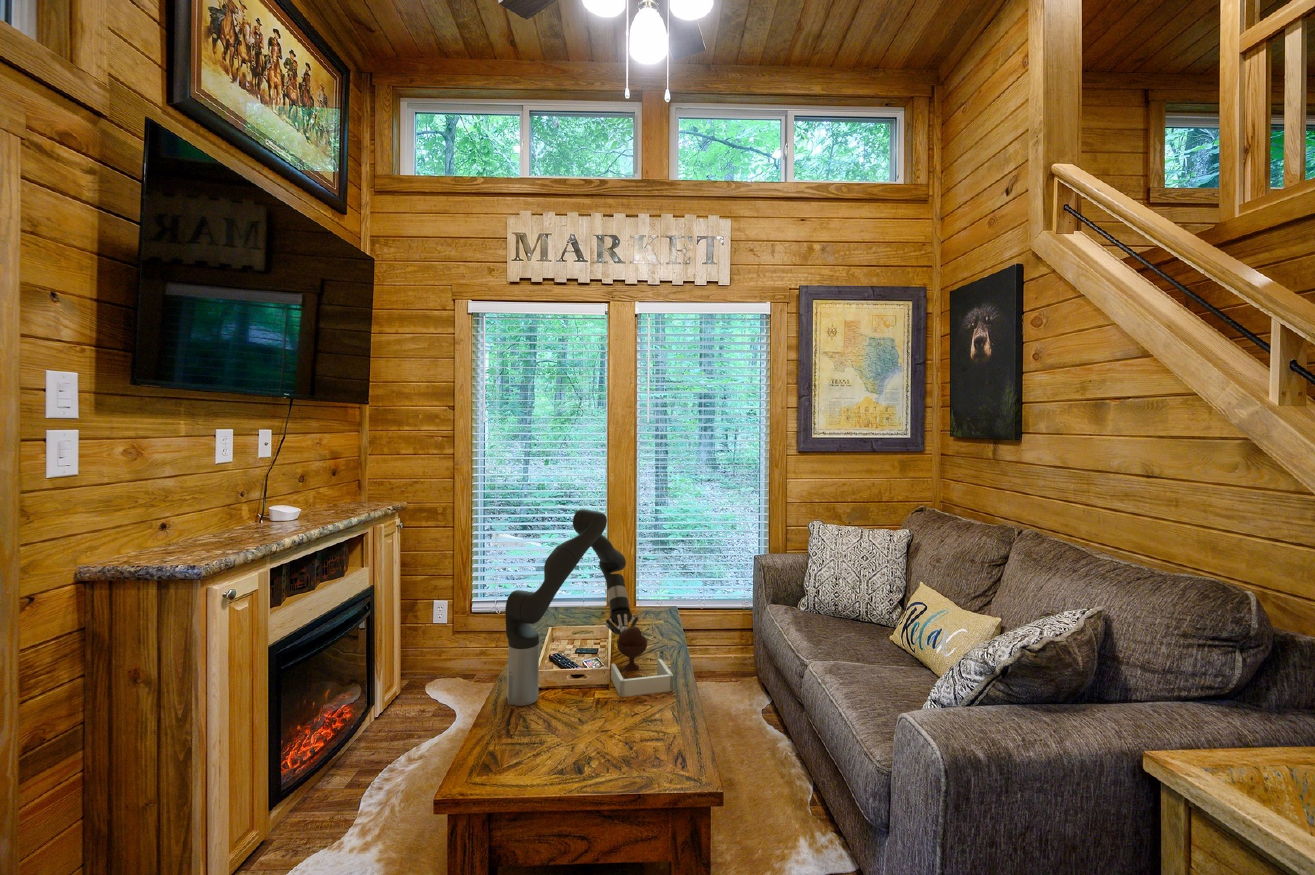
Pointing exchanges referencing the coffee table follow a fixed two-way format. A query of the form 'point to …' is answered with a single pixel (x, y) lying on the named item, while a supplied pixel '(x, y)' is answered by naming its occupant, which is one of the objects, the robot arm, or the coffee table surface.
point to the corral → (643, 682)
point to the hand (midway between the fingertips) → (625, 643)
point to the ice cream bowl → (631, 646)
